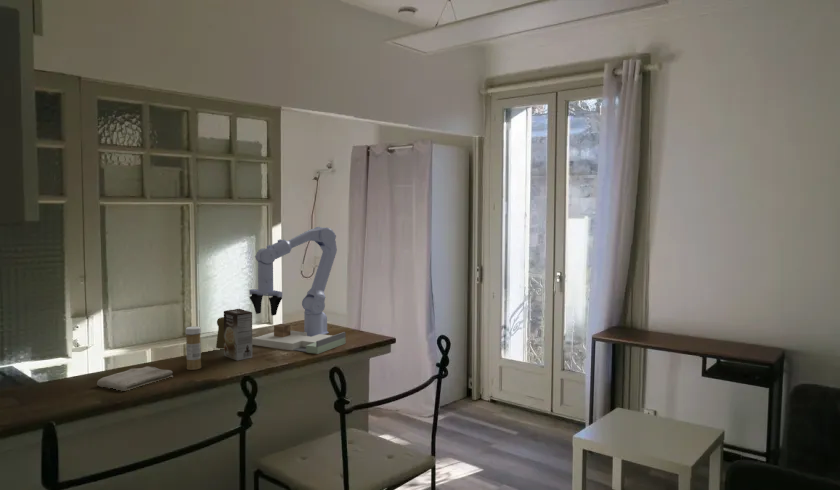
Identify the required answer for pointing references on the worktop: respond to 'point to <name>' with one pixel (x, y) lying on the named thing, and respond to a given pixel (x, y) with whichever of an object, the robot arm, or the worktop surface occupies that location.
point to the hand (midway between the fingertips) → (266, 314)
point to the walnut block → (282, 330)
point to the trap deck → (301, 341)
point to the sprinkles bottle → (193, 347)
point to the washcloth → (134, 378)
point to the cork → (220, 333)
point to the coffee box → (238, 334)
